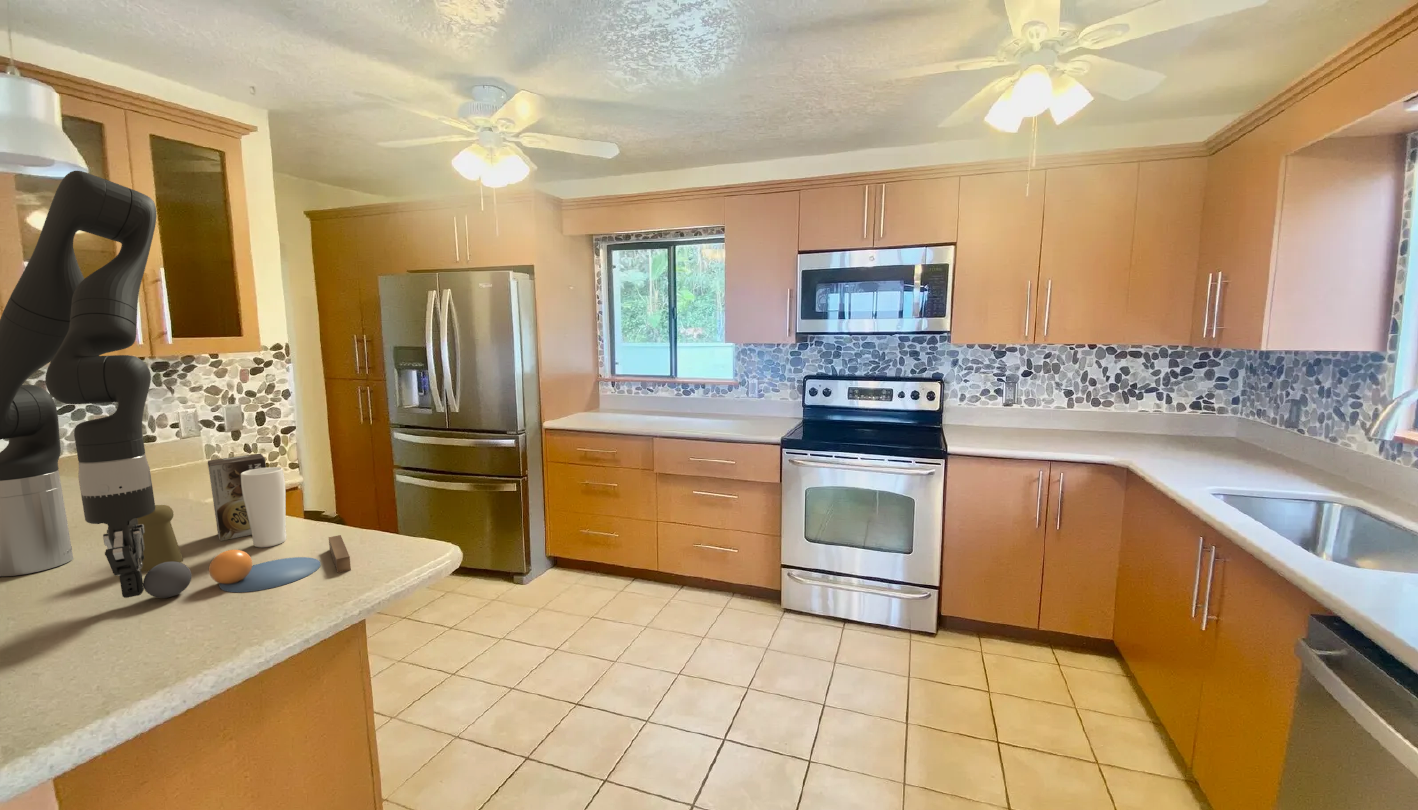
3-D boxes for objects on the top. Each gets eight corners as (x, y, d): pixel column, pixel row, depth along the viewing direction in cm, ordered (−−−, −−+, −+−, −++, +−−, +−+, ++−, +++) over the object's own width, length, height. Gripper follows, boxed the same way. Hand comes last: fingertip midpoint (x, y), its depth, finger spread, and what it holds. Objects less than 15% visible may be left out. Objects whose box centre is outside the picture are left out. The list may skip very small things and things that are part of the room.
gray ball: (155, 562, 88) (197, 573, 91) (161, 552, 92) (201, 564, 95) (130, 596, 86) (174, 607, 89) (138, 585, 91) (179, 595, 94)
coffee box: (270, 523, 126) (262, 452, 124) (274, 530, 121) (266, 457, 119) (216, 534, 120) (206, 459, 118) (219, 541, 115) (209, 464, 113)
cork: (154, 572, 100) (146, 512, 99) (128, 570, 101) (119, 510, 100) (191, 559, 106) (184, 502, 105) (166, 557, 107) (158, 500, 106)
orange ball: (198, 574, 91) (233, 548, 93) (200, 563, 95) (234, 539, 97) (227, 595, 93) (261, 569, 96) (229, 584, 98) (260, 559, 100)
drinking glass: (298, 540, 115) (290, 468, 113) (261, 551, 109) (252, 476, 107) (279, 535, 118) (271, 465, 116) (241, 546, 112) (232, 473, 110)
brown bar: (337, 572, 99) (336, 559, 99) (329, 549, 110) (328, 537, 110) (350, 569, 100) (349, 556, 100) (341, 547, 111) (340, 535, 111)
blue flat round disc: (217, 600, 89) (217, 599, 89) (221, 572, 100) (221, 570, 100) (323, 576, 98) (323, 574, 98) (317, 552, 109) (317, 551, 109)
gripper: (144, 491, 83) (161, 603, 85) (157, 474, 93) (171, 574, 96) (69, 501, 78) (88, 619, 81) (91, 482, 89) (108, 587, 91)
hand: (133, 594), depth 88 cm, fingers closed
